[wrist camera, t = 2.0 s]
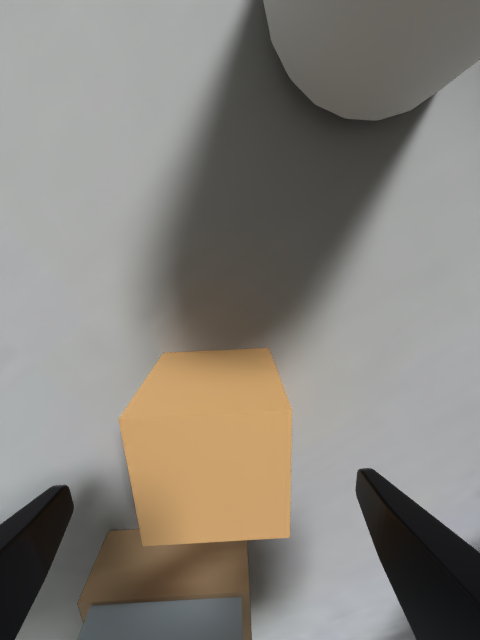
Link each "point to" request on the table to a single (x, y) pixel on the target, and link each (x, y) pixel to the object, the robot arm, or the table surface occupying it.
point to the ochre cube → (210, 448)
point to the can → (373, 50)
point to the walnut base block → (167, 573)
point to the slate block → (166, 620)
